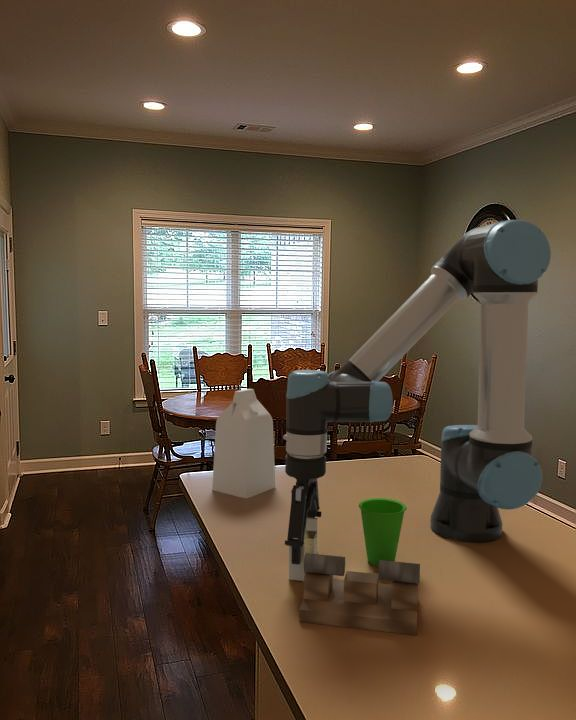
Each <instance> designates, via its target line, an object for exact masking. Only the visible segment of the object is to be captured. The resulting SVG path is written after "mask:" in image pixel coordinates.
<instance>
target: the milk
mask: <svg viewBox="0 0 576 720" xmlns="http://www.w3.org/2000/svg"><path fill="white" fill-rule="evenodd" d="M255 392H256V391H255V389H254V388H246V389H240V390H235V391H234V394H233V398H232V402H231V403H230V405H228V406H227V407H226V408H225V409H224V411H222V413H220V415H218V417H217V418H216V422H215V432H214V433H215V437H214V450H213V452H214V453H213V454H214V455H213V470H212V485H211V486H212V487H211V488H212V489H211V490H212V491H215V492H219V493H221V494H226V495H230V496H234V497H238V498H241V499H250V498H252V497H254V496H257V495H260V494H261V493H262V494H263V493H264V492H267V491H269V490H272V489H275V488H276V467H275V463H276V462H275V443H274V441H275V438H274V437H275V436H274V421H273V420H274V419H273V417H272V415H271V414H270V413H269V411H268V410H267V408H265V406H264V405H263V404H262V403H261V402H260V401H259V399H257V396H256V393H255Z"/></svg>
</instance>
